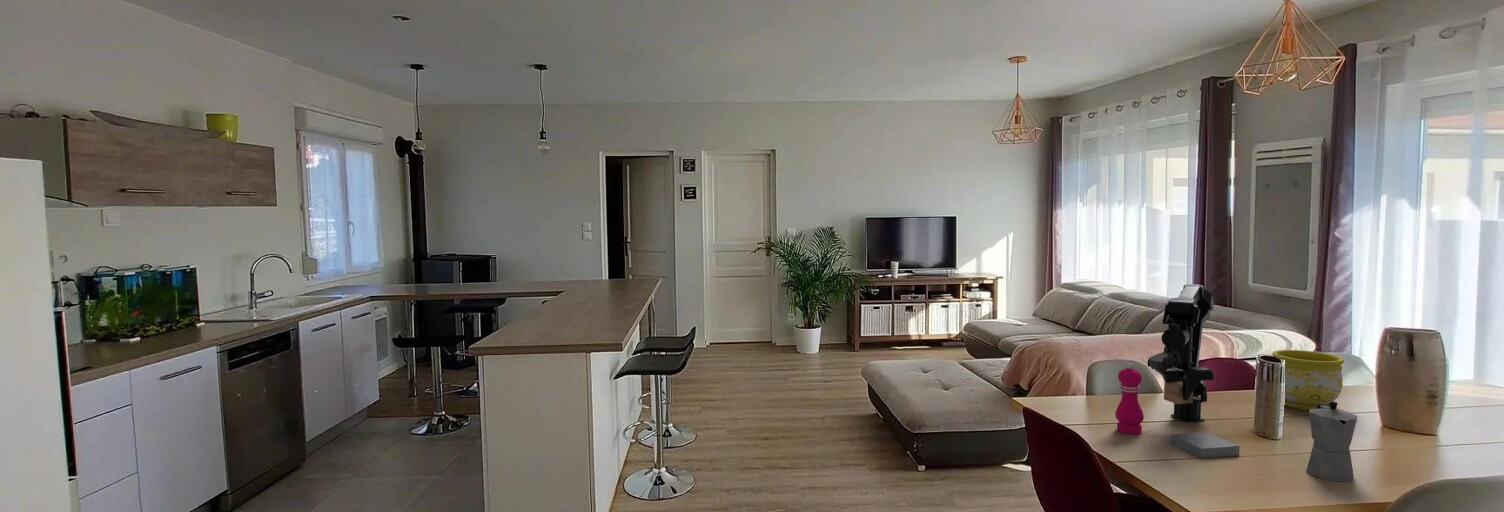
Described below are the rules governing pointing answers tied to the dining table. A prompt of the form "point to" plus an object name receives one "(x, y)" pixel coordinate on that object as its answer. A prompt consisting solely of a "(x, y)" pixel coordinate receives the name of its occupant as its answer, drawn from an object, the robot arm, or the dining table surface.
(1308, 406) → the flowerpot
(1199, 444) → the slate plinth
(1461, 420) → the dining table surface
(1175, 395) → the walnut cube
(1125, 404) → the pepper mill
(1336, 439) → the coffeepot
